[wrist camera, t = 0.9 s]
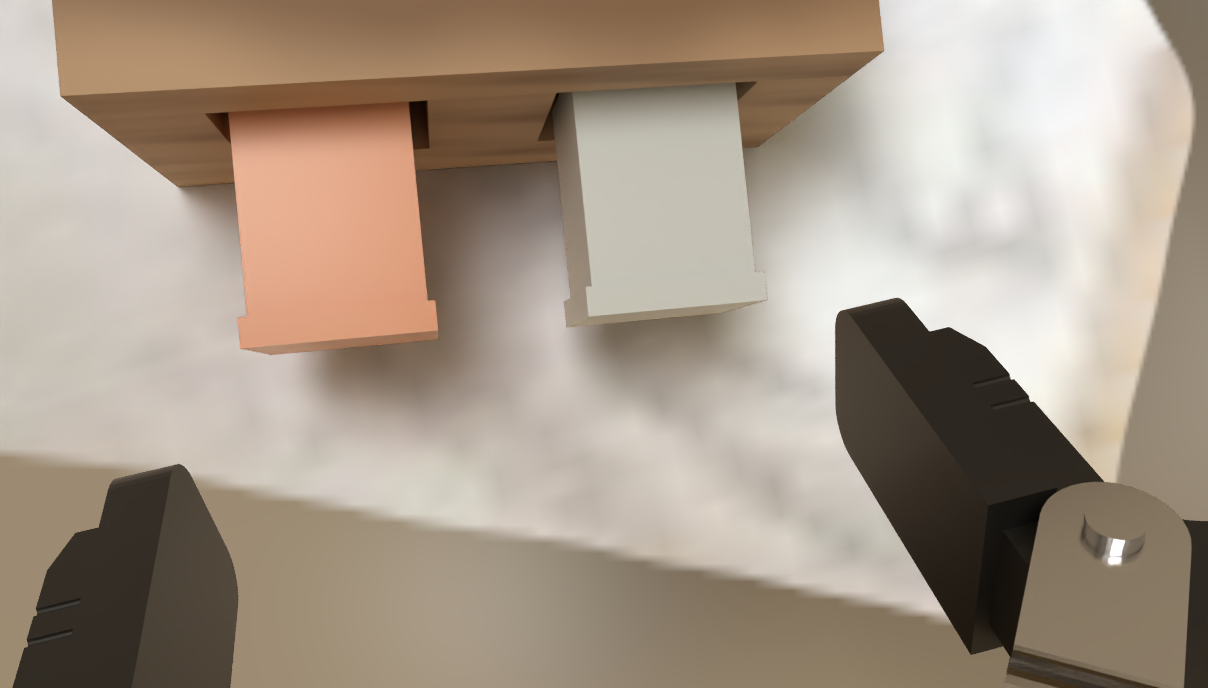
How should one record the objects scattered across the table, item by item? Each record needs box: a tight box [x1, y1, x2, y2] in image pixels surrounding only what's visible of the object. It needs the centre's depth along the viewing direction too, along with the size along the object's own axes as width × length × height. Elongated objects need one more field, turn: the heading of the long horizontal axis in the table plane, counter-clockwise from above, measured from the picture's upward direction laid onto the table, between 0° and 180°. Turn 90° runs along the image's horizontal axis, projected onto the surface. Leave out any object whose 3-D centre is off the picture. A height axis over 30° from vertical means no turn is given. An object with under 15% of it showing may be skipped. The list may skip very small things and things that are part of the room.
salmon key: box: [228, 102, 438, 355], centre depth 30 cm, size 7×5×5 cm
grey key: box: [552, 82, 767, 327], centre depth 31 cm, size 7×5×5 cm
